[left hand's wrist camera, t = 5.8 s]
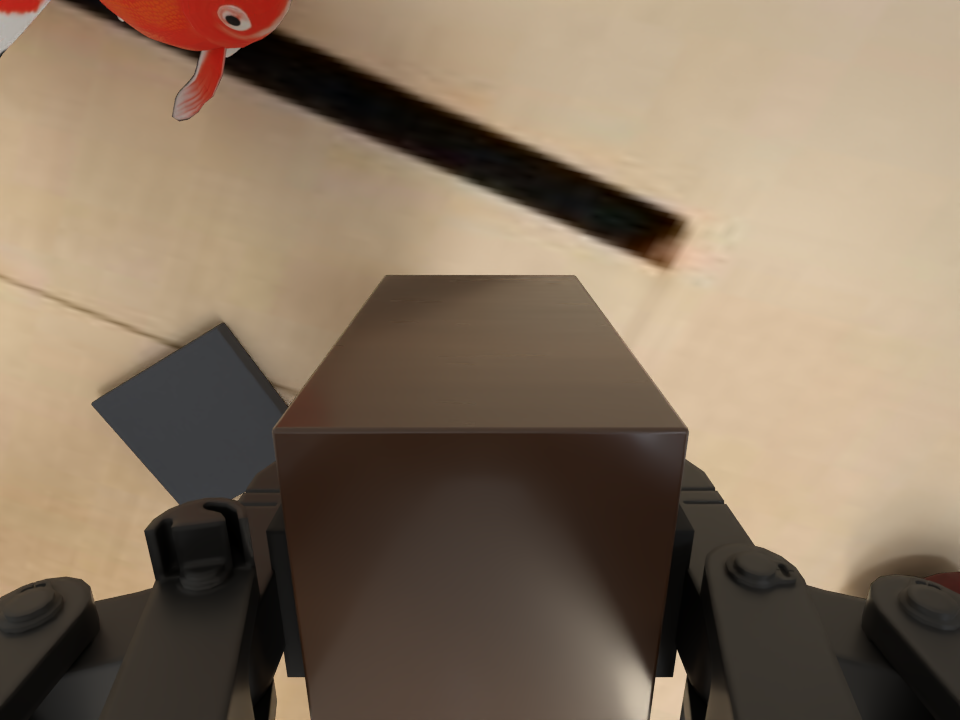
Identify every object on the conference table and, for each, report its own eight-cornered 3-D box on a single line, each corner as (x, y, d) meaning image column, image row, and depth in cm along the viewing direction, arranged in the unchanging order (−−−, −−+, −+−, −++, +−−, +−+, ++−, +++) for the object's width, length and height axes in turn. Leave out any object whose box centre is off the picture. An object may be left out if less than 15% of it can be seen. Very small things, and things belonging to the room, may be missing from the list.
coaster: (224, 321, 29) (215, 327, 28) (318, 446, 31) (313, 455, 30) (101, 396, 30) (89, 404, 29) (200, 510, 33) (192, 520, 32)
